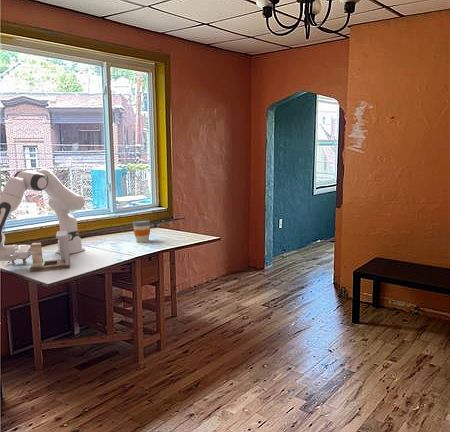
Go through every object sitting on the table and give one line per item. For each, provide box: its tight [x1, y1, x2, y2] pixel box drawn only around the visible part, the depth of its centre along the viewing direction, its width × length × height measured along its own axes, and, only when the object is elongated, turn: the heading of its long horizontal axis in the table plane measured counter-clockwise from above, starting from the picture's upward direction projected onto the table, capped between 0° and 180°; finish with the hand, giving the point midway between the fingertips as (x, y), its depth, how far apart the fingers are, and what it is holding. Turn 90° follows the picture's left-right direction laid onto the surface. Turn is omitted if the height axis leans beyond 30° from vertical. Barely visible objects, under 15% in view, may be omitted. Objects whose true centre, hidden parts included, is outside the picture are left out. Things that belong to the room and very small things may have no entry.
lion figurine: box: [7, 255, 32, 265], centre depth 273 cm, size 15×5×9 cm, turn 95°
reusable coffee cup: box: [132, 219, 151, 244], centre depth 328 cm, size 13×13×15 cm
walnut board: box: [29, 258, 71, 273], centre depth 265 cm, size 16×21×2 cm
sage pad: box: [30, 262, 45, 268], centre depth 262 cm, size 9×7×1 cm
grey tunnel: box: [55, 230, 71, 265], centre depth 265 cm, size 16×6×18 cm, turn 18°
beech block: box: [30, 242, 44, 265], centre depth 261 cm, size 5×5×12 cm
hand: (38, 250), depth 261 cm, fingers open, 8 cm apart
